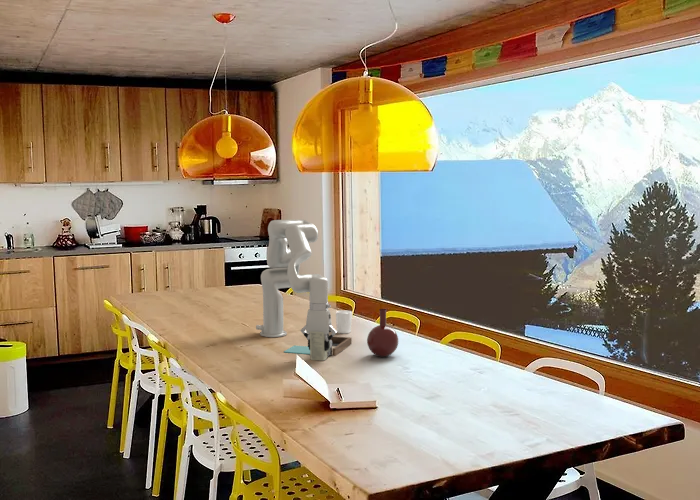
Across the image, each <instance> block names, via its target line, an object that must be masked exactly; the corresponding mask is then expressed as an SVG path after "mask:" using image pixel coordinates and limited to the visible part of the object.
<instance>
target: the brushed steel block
mask: <svg viewBox="0 0 700 500" xmlns="http://www.w3.org/2000/svg"><path fill="white" fill-rule="evenodd" d="M329 342H330V347H329V349H328V350H327V358H328V357H329V356H332V349H333V346H332V340H329Z"/></svg>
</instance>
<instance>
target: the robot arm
mask: <svg viewBox="0 0 700 500" xmlns="http://www.w3.org/2000/svg"><path fill="white" fill-rule="evenodd" d="M267 232H268V234H267V235H268V236H269V237H268V239H269V241H268V249H267V256H266V263H267V266H268V267H269V268H267V269H265V270H263V271H262V272H261V274H260V282H261V289H262V309H263V310H262V315H263V316H262V321H263V324H256V325H255V329H256V330H257V331H259V330H260V333H259V335H260V336H261V337H265V338H279V337H280V338H281V337H284V336H286V335H287V334H288V332H287V331H286V330H284V296H283V294H282V293H281V292H280V289H287V288H289V289H292V291H293V292H294V293H298V294H301V293H309V309H308V310H307V313H306V320H305V321H306V322H305V323H306V324H305V325H304V326H303V327H302V328H301V329H300V332H301V333H302V335H303V336H304V337H305V338H306V340H307V346H308V347H309V350H310V331H314V332H324V337H325V342H324V349H325V351H327V350H328V349H329V347H330V342H329V340H330V339H331V338H332V337H333V336H336V334H337V333H338V332H337V329H335V328H334V326H333V325H332V314H331V310H330V308H331V307H332V305H331V304H329V299H328V298H329V297H328V296H329V295H328V293H329V291H328V290H329V288H328V287H329V281H328V278H327V276H323V275H322V274H320V273H308V274H306V273H304V274H300V268H301V264H302V263H304V262H306V261H307V260H309V258H311V256H312V249H311V246H310V243H315V242H317V240H318V239H319V232H318V228H317V226H316V225H315V224H314V223H313V222H310V221H308V220H306V219H274V220H273V219H272V220H271V221H270V222H269V223H268V226H267ZM330 333H331V334H330Z"/></svg>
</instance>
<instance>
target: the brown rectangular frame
mask: <svg viewBox="0 0 700 500" xmlns="http://www.w3.org/2000/svg"><path fill="white" fill-rule="evenodd" d="M352 339H353V338H352V337H349V336H348V337H347V336H338V335H337V336H336V335H334V336H333V337H332V338H331V339H330V340H332V343H340V344H339V345H337V346H334V347H332V354H331V356H332V357H336V356H337V355H339V354H340V353H341V352H343V351H344V350H346V349H347V348H348V347H350V346H351V345H352V342H353V341H352Z"/></svg>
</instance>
